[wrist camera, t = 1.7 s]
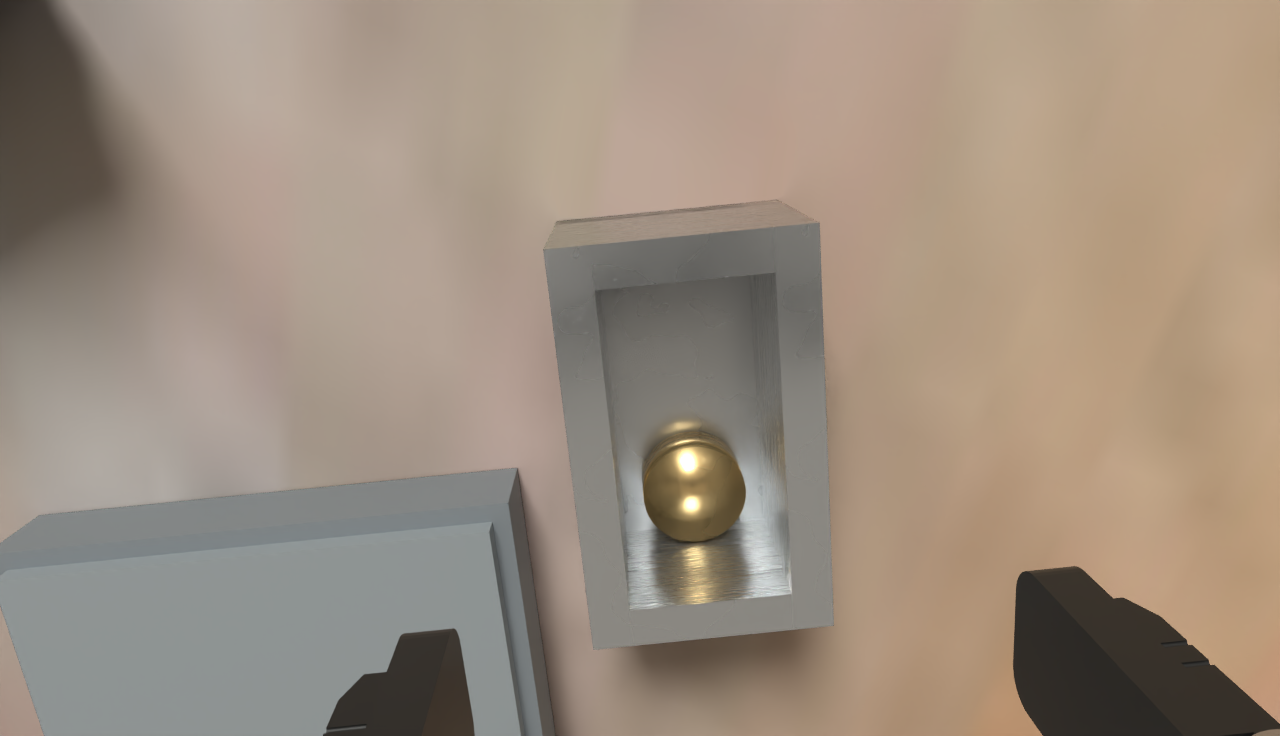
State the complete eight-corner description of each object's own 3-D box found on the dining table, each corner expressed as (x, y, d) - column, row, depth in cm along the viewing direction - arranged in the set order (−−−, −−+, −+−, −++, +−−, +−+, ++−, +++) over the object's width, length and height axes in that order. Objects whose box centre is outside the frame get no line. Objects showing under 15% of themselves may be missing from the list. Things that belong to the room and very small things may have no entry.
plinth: (517, 468, 26) (505, 512, 23) (572, 850, 30) (568, 930, 27) (39, 515, 26) (-33, 566, 23) (157, 893, 30) (109, 977, 27)
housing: (777, 199, 24) (819, 222, 19) (793, 533, 27) (833, 625, 22) (556, 221, 24) (543, 249, 19) (596, 552, 27) (593, 649, 22)
